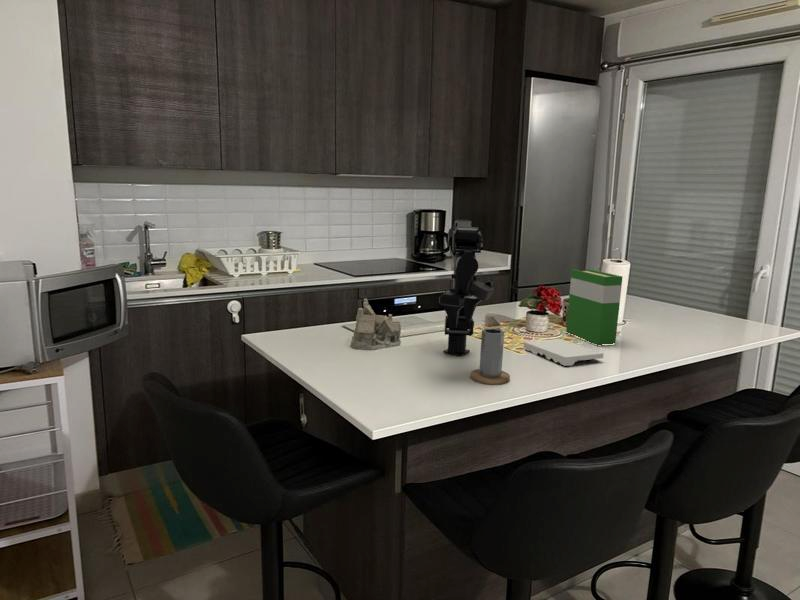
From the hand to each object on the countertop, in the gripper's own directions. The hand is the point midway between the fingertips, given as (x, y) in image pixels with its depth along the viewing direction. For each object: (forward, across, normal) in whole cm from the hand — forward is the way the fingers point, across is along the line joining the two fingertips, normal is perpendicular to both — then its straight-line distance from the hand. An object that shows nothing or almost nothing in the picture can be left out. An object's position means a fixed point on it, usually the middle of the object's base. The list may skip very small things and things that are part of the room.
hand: (461, 324), depth 170 cm
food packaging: (+14, +32, -20) cm, 40 cm away
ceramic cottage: (+13, +6, +34) cm, 37 cm away
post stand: (+13, -3, -11) cm, 17 cm away
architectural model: (+14, +43, +8) cm, 46 cm away
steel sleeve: (+12, -3, -11) cm, 17 cm away
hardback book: (+13, +60, -22) cm, 65 cm away
